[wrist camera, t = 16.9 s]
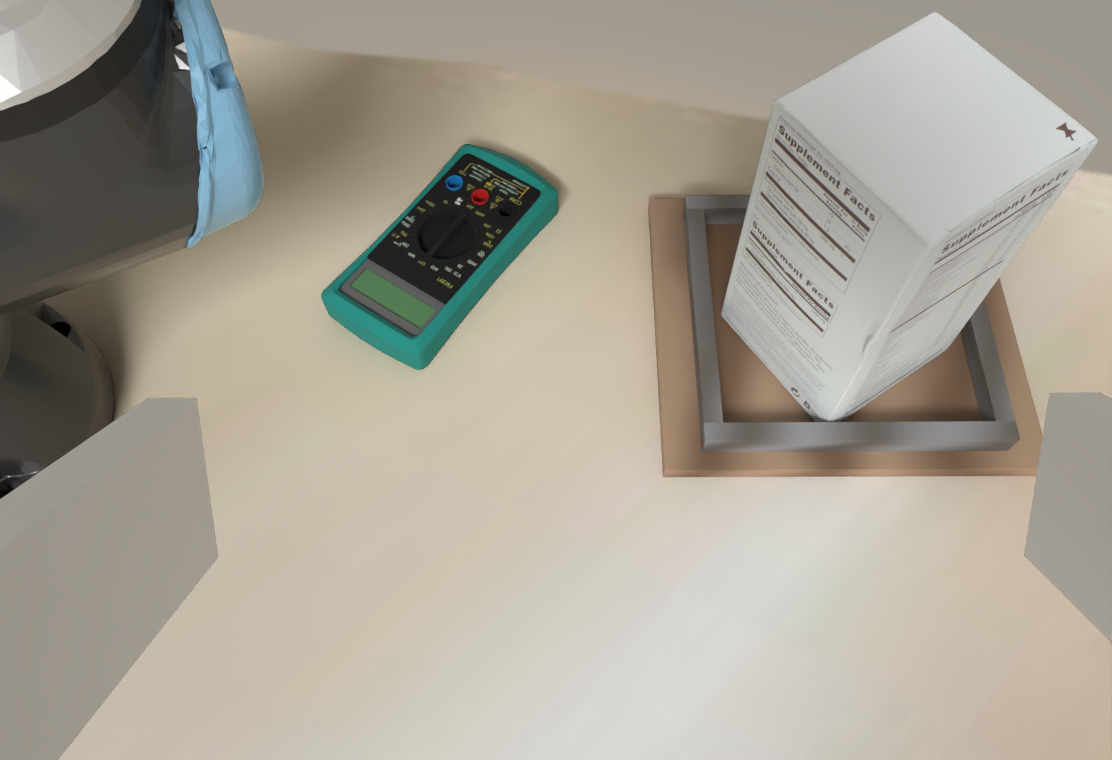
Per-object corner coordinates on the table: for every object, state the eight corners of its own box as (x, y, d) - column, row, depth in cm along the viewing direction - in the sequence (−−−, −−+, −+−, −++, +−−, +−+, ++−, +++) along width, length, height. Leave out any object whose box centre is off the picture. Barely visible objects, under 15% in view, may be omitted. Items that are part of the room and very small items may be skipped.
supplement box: (839, 238, 54) (940, 1, 39) (952, 348, 50) (1111, 133, 35) (713, 315, 51) (768, 94, 36) (822, 437, 48) (933, 246, 33)
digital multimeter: (566, 209, 57) (565, 177, 54) (421, 380, 51) (412, 354, 49) (474, 160, 59) (469, 128, 57) (325, 320, 53) (312, 292, 51)
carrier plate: (663, 476, 48) (667, 458, 46) (648, 209, 56) (651, 182, 54) (1042, 475, 47) (1065, 457, 45) (970, 205, 56) (986, 179, 54)
